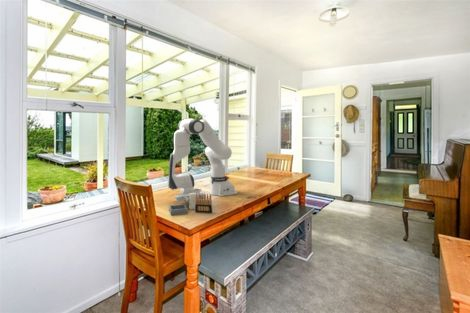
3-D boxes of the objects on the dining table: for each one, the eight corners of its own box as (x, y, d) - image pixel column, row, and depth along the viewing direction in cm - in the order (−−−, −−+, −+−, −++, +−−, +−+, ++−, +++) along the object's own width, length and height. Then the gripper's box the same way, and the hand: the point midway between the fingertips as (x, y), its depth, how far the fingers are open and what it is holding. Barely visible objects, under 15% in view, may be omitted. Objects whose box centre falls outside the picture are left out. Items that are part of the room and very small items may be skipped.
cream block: (195, 207, 168) (194, 192, 167) (196, 208, 164) (196, 193, 163) (189, 207, 166) (188, 193, 165) (190, 209, 163) (189, 194, 162)
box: (184, 208, 165) (184, 204, 165) (187, 213, 156) (187, 208, 155) (169, 210, 162) (169, 205, 161) (170, 215, 152) (170, 210, 152)
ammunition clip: (195, 212, 158) (194, 193, 156) (196, 211, 160) (195, 192, 158) (211, 213, 156) (211, 194, 155) (212, 212, 158) (212, 193, 156)
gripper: (173, 191, 173) (176, 196, 160) (202, 189, 180) (207, 193, 167) (174, 200, 173) (176, 206, 161) (203, 197, 181) (207, 202, 168)
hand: (192, 199), depth 164 cm, fingers closed on cream block, 4 cm apart
